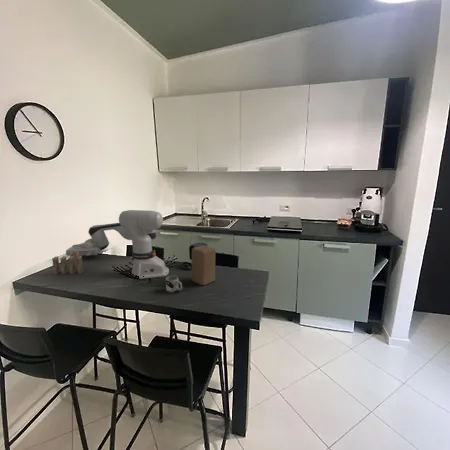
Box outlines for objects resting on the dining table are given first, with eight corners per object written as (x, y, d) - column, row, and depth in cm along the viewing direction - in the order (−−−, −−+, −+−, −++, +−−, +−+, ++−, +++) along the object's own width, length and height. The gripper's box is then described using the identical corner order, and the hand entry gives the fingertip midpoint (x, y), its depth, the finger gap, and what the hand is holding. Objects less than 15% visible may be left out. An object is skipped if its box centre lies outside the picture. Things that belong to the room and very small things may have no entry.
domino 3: (75, 271, 172) (73, 256, 170) (73, 274, 169) (71, 258, 166) (72, 271, 172) (71, 256, 170) (70, 274, 168) (68, 258, 166)
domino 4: (80, 264, 184) (78, 250, 182) (77, 266, 180) (76, 252, 178) (77, 264, 184) (76, 250, 181) (75, 266, 180) (73, 252, 178)
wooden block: (215, 281, 162) (216, 248, 158) (202, 286, 155) (203, 252, 150) (203, 276, 168) (204, 244, 164) (191, 281, 161) (190, 248, 157)
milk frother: (209, 264, 189) (209, 243, 186) (200, 272, 175) (200, 249, 171) (190, 261, 193) (190, 241, 190) (179, 269, 179) (179, 247, 176)
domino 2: (67, 271, 172) (66, 256, 170) (65, 274, 168) (63, 258, 166) (65, 271, 172) (63, 256, 169) (62, 274, 168) (60, 258, 166)
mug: (163, 290, 150) (163, 278, 148) (171, 285, 155) (171, 274, 154) (177, 295, 144) (177, 283, 143) (185, 290, 150) (185, 278, 149)
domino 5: (83, 271, 173) (81, 255, 171) (80, 273, 169) (79, 258, 167) (80, 271, 173) (78, 255, 171) (78, 273, 169) (76, 258, 167)
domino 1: (60, 272, 171) (58, 256, 169) (57, 274, 167) (55, 258, 165) (57, 272, 171) (55, 256, 169) (54, 274, 167) (52, 258, 165)
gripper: (101, 252, 201) (95, 259, 187) (71, 253, 198) (63, 260, 185) (100, 244, 199) (94, 250, 186) (70, 245, 197) (62, 251, 183)
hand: (78, 255), depth 185 cm, fingers open, 8 cm apart
